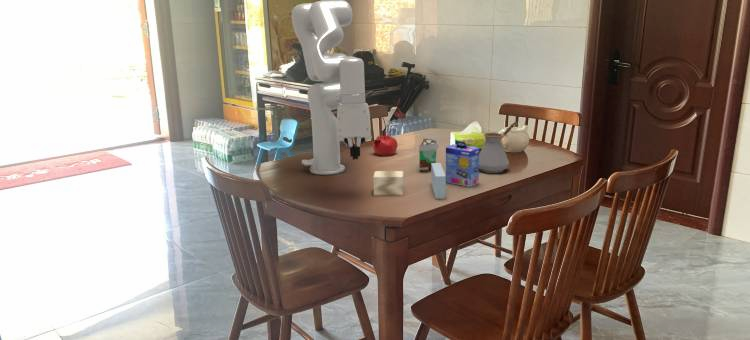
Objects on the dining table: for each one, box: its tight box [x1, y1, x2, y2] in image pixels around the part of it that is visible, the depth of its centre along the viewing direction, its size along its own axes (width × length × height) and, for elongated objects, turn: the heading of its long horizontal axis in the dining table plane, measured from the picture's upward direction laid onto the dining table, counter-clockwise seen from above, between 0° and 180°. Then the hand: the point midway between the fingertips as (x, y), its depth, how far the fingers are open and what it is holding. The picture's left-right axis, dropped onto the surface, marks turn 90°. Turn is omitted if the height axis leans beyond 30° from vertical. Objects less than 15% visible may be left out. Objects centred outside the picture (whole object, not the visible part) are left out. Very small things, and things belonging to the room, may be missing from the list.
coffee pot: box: [479, 122, 519, 174], centre depth 206 cm, size 21×12×15 cm, turn 138°
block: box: [372, 170, 404, 196], centre depth 182 cm, size 9×7×6 cm
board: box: [430, 162, 447, 200], centre depth 182 cm, size 3×16×7 cm, turn 179°
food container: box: [418, 137, 439, 173], centre depth 207 cm, size 12×6×10 cm, turn 168°
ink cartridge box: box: [445, 140, 480, 188], centre depth 188 cm, size 10×6×14 cm, turn 51°
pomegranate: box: [372, 131, 399, 157], centre depth 231 cm, size 10×10×9 cm
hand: (355, 158), depth 180 cm, fingers closed
